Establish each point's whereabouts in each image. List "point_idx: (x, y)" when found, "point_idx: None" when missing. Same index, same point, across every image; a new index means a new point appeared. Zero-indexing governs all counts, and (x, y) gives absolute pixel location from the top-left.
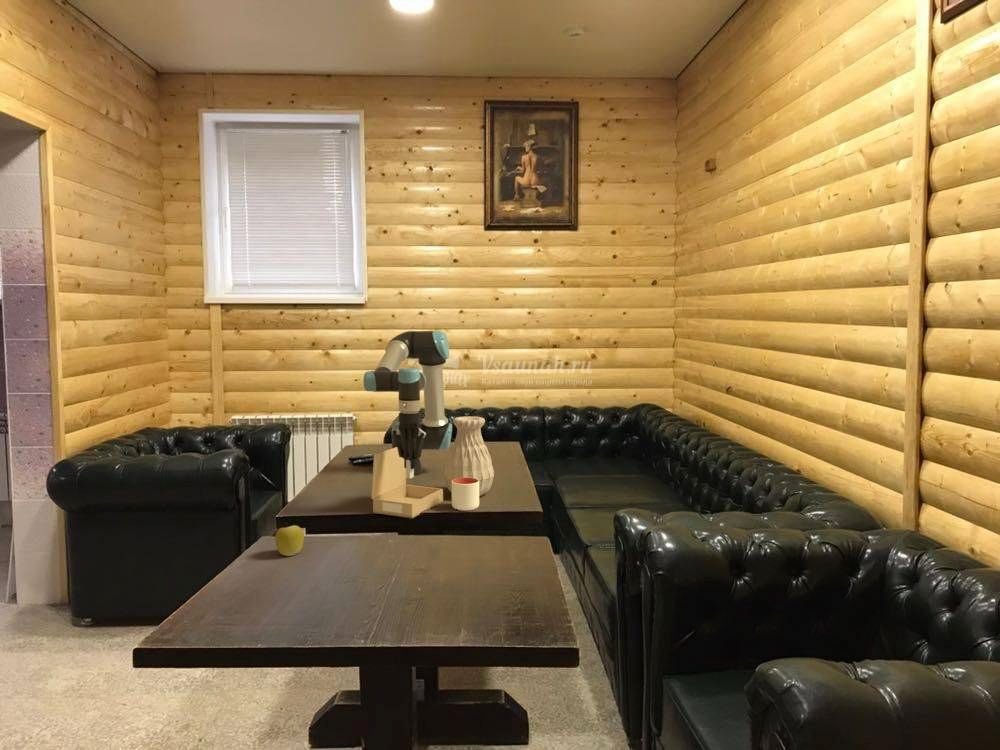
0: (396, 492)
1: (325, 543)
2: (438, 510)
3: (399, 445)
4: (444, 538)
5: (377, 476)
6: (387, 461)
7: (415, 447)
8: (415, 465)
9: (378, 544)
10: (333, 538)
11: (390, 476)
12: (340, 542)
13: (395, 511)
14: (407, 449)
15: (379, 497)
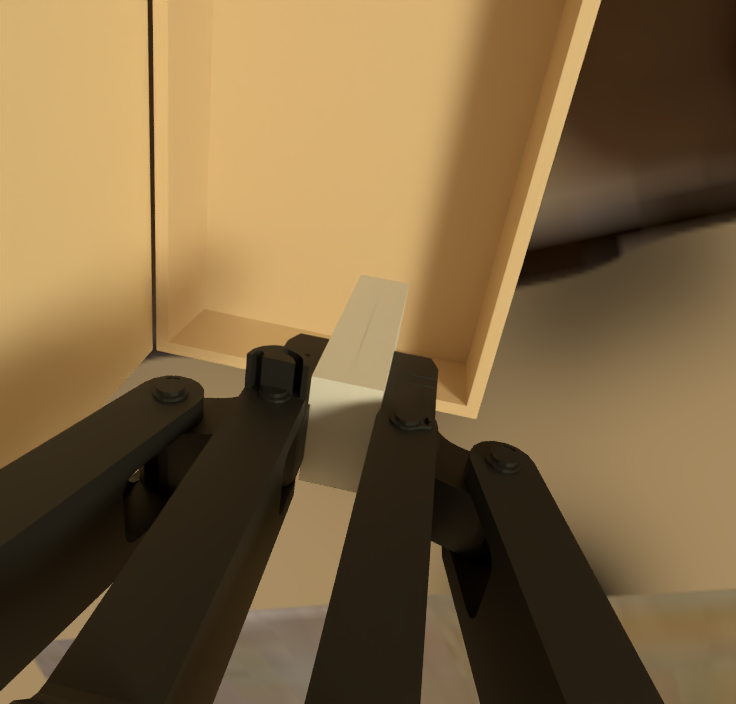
0: (180, 24)
1: (246, 682)
2: (617, 159)
3: (33, 649)
4: (728, 617)
5: (67, 389)
6: None
7: (420, 602)
8: (437, 382)
9: (444, 683)
10: (242, 643)
11: (77, 128)
12: (292, 673)
13: None
14: (249, 578)
15: (170, 292)
